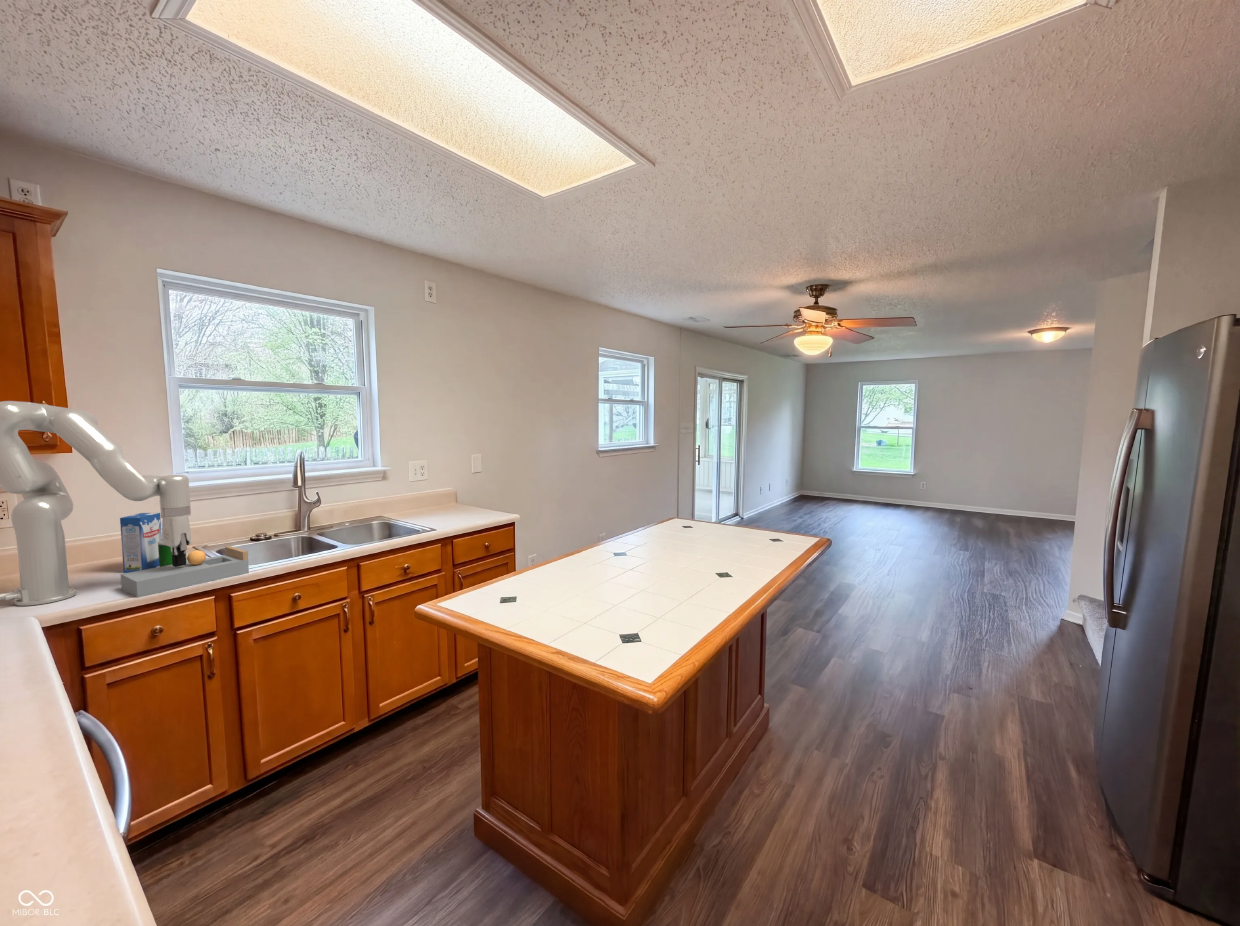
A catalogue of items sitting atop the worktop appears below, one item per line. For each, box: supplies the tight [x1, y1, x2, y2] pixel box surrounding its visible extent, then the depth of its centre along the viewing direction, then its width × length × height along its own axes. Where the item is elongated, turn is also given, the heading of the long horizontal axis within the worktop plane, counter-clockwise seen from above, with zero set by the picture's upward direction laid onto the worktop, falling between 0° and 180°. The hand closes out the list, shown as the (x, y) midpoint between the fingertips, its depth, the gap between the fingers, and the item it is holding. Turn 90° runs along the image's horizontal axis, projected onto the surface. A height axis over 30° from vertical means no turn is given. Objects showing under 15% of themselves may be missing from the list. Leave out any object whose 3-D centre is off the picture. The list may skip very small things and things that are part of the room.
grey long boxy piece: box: [120, 545, 250, 598], centre depth 170 cm, size 30×14×8 cm, turn 149°
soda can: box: [158, 539, 188, 567], centre depth 182 cm, size 8×8×12 cm
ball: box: [186, 549, 207, 565], centre depth 172 cm, size 5×5×5 cm
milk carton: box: [119, 512, 162, 574], centre depth 182 cm, size 10×6×20 cm, turn 10°
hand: (179, 565), depth 168 cm, fingers closed
